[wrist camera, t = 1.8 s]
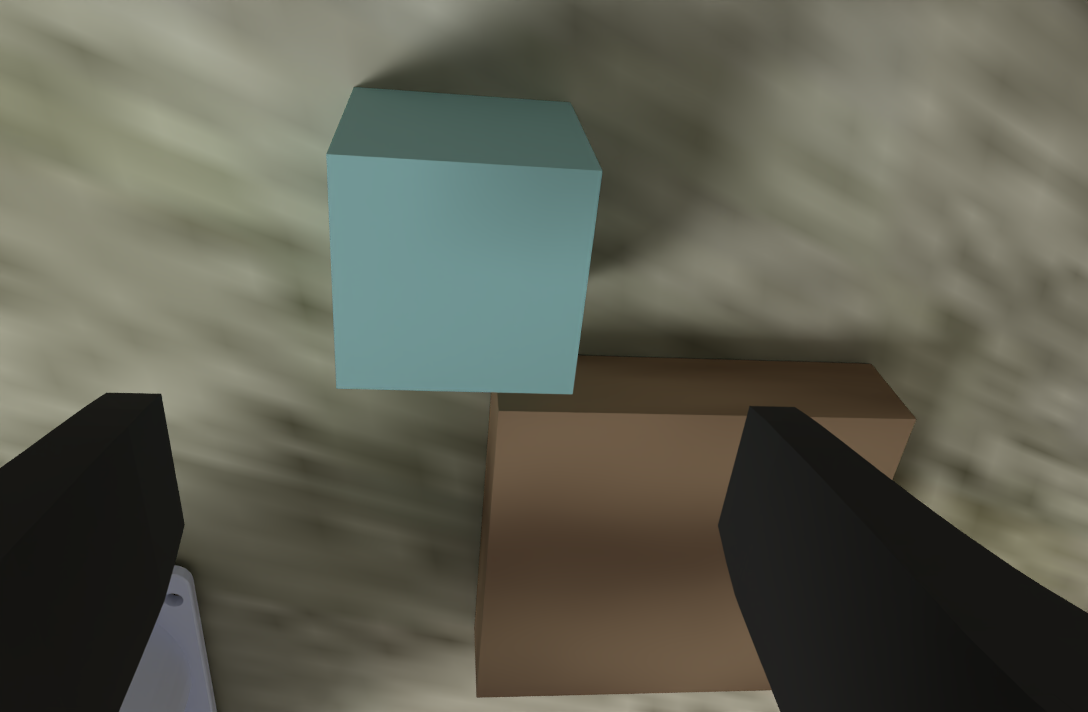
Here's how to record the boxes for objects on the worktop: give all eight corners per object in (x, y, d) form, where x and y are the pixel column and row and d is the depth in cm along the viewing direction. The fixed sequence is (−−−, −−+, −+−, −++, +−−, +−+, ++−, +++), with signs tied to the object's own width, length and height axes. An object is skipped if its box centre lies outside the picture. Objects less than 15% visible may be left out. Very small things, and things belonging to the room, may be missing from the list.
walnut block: (780, 623, 27) (809, 688, 25) (474, 627, 26) (476, 697, 24) (871, 363, 22) (916, 419, 20) (493, 353, 21) (498, 410, 18)
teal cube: (549, 290, 20) (572, 394, 16) (359, 282, 19) (336, 388, 16) (569, 101, 18) (602, 171, 14) (354, 86, 17) (326, 154, 13)
